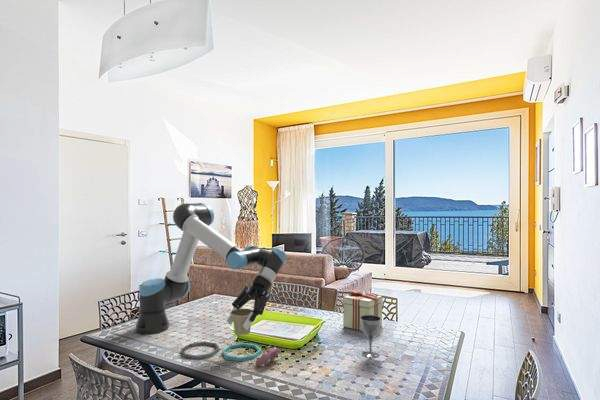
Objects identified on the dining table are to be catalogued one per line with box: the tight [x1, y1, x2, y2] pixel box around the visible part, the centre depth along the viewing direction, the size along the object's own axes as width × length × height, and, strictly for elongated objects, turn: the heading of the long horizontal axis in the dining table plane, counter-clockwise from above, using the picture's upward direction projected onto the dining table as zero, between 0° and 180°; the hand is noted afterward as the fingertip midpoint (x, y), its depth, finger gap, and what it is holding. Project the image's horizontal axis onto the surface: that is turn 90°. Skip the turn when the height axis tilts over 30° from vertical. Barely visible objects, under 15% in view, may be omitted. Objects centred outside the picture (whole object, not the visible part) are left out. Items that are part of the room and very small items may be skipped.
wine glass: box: [361, 315, 381, 359], centre depth 151 cm, size 8×8×15 cm
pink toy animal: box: [254, 346, 281, 367], centre depth 143 cm, size 10×5×7 cm, turn 149°
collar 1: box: [180, 340, 221, 360], centre depth 154 cm, size 15×15×1 cm
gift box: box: [342, 289, 384, 332], centre depth 187 cm, size 17×18×17 cm
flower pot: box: [230, 308, 253, 336], centre depth 152 cm, size 9×9×9 cm
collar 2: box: [221, 342, 262, 362], centre depth 153 cm, size 15×15×1 cm
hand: (236, 325), depth 150 cm, fingers closed on flower pot, 9 cm apart
